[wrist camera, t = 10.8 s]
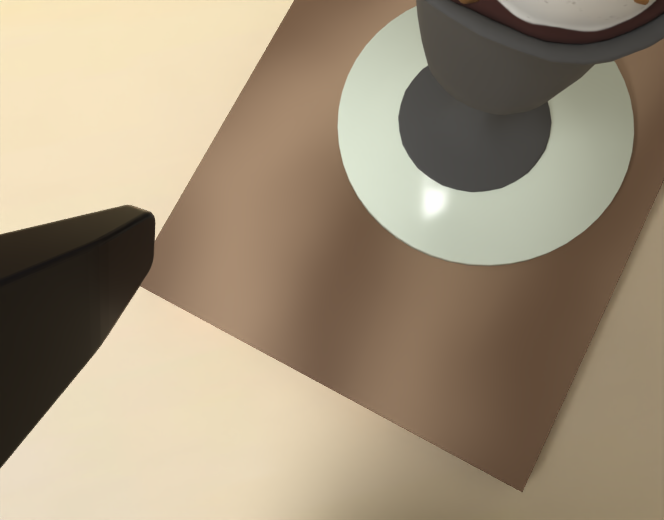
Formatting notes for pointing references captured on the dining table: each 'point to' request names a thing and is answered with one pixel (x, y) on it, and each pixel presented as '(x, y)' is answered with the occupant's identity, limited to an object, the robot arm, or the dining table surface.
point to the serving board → (390, 259)
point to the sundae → (507, 79)
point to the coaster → (488, 206)
